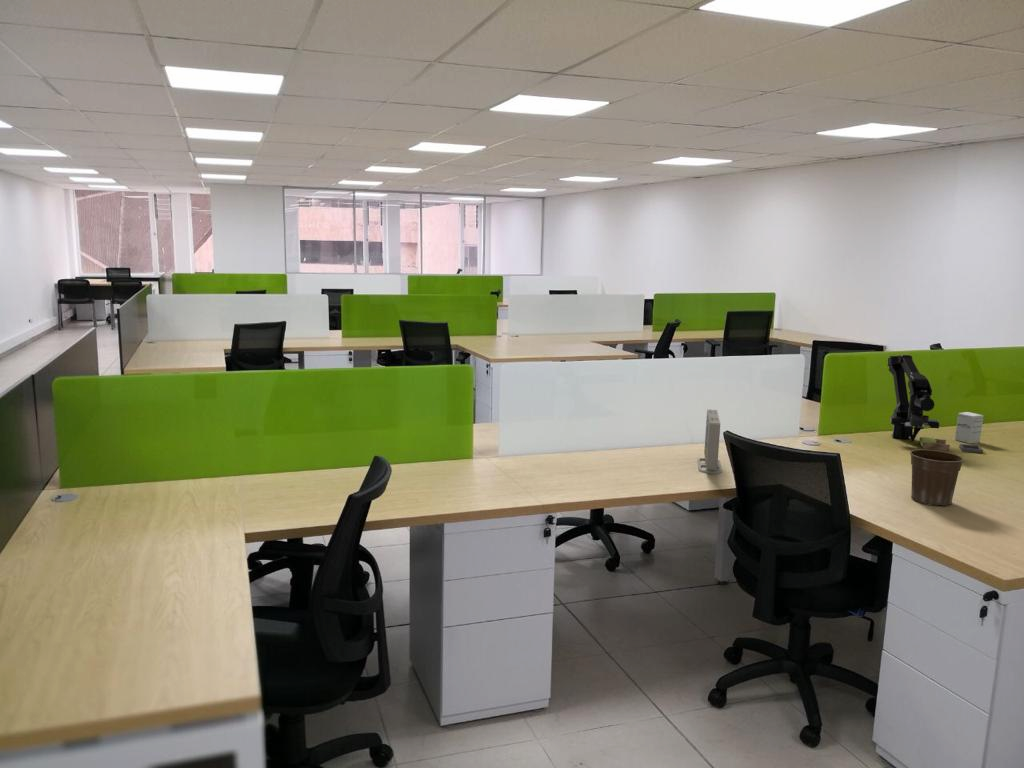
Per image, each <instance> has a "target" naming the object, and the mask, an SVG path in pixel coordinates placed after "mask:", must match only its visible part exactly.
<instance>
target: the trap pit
mask: <svg viewBox="0 0 1024 768" xmlns="http://www.w3.org/2000/svg"><path fill="white" fill-rule="evenodd" d="M958 448H959V449H960V451H962V452H965V453H975V454H977V453H978V454H984V449H983V447H981V446H980V445H975V444H965V443H964V444H963V443H959V444H958Z"/></svg>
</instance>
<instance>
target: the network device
mask: <svg viewBox="0 0 1024 768" xmlns="http://www.w3.org/2000/svg"><path fill="white" fill-rule="evenodd" d="M720 435H721V419H720V416H719V412H718V410H717V409H707V410H706V422H705V437H704V448H703V449H704V450H703V451H704V457H699V458H697V460H696V461H697V470H698V471H699V473H700V472H701V473H704V474H705V473H706V474H721V473H723V468H722V464H721V463H722V462H721V460H720V459H719V448H720ZM701 461H705V462H701ZM702 468H706V469H702Z"/></svg>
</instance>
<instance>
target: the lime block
mask: <svg viewBox="0 0 1024 768" xmlns="http://www.w3.org/2000/svg"><path fill="white" fill-rule="evenodd" d="M935 439H936V438H935ZM935 439H934V437H926V436H921V443H919V445H920V446H921V447H923V442H928V443H936V440H935Z"/></svg>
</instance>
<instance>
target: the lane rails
mask: <svg viewBox="0 0 1024 768" xmlns="http://www.w3.org/2000/svg"><path fill="white" fill-rule="evenodd" d="M921 437H922V436H921ZM921 437H919V441H918V443H919V444H920V443H921ZM933 438H934V437H933ZM934 439H935V440H936V443H928V442H923V447H922V446H921V447H922V449H925V450H936V451H943V452H950V446H951V445H950V444H947V442H946V438H945V439H944V438H934Z"/></svg>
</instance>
